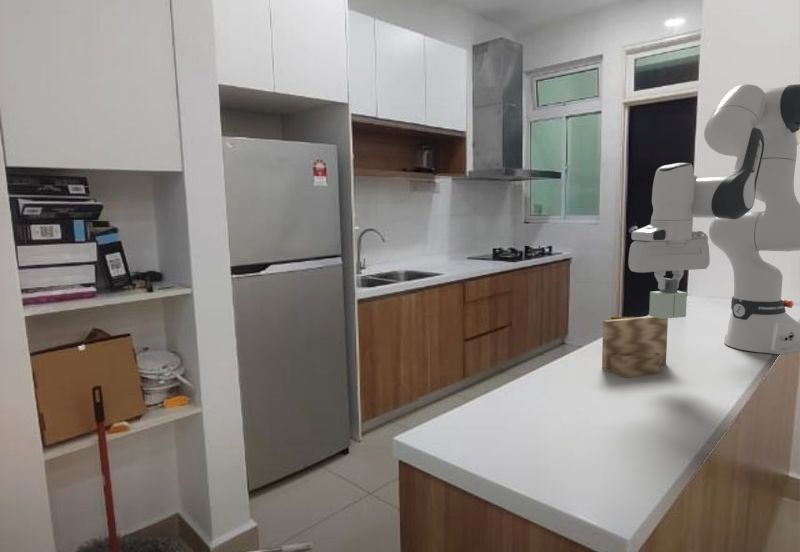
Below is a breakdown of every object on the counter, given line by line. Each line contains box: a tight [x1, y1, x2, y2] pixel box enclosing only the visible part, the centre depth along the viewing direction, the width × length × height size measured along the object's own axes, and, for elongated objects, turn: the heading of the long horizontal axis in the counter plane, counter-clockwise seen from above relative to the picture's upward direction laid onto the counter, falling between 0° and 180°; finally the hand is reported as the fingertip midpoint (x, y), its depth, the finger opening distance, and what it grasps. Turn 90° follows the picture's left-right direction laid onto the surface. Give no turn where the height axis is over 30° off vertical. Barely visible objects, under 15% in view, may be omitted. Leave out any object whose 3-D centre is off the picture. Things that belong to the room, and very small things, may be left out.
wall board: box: [601, 315, 669, 379], centre depth 126 cm, size 18×8×13 cm, turn 101°
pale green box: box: [648, 277, 688, 319], centre depth 120 cm, size 7×4×9 cm, turn 102°
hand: (668, 289), depth 120 cm, fingers closed on pale green box
